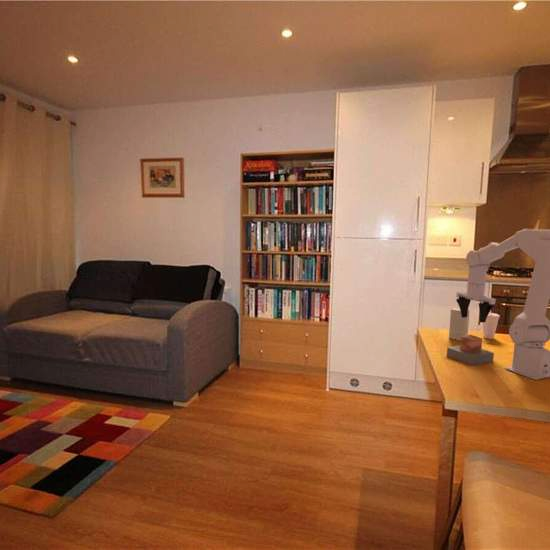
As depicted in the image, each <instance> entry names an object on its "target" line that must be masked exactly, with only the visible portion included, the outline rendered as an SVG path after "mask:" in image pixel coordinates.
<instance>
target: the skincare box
mask: <svg viewBox="0 0 550 550" xmlns="http://www.w3.org/2000/svg"><path fill="white" fill-rule="evenodd" d="M469 320H470V310H469V309H468V315H467V317H465V318H462V316H461V311H460V308H456V307H454V308H451V309H450V319H449V331H448V339H449V338H452V339H451V340H455V339H456V340H457V341H460V340H461V336H465V335H469V323H470V321H469ZM456 340H455V341H456Z"/></svg>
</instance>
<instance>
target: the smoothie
mask: <svg viewBox="0 0 550 550" xmlns="http://www.w3.org/2000/svg"><path fill="white" fill-rule="evenodd" d="M500 317H501V316H500V314H498V313H494V312H492V310H491V311H490V312H489V314H488V316H487V318H486V321H485V322H482V335H483V338H485V339H490V340H492V339H495V334H496V331H497V327H498V322H499V319H500Z"/></svg>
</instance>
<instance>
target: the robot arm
mask: <svg viewBox="0 0 550 550" xmlns="http://www.w3.org/2000/svg"><path fill="white" fill-rule="evenodd" d="M518 248H519V249H520V250H521V251H523V252H524V254H526V255H527V256H528V257H530V258H532V260H533V261H534V262H535V264H534V267H533V272H532V275H531V280H530V284H529V288H528V292H527V294H526V295H527V296H526V299H525V303H524V307H523V311H522V312H521V313H520V314H518V315H517V316H516V317H515V318H514V320H513V323H512V324H511V325H510V327H509V330H508V334H509V337H510V339H511V341H512V343H514V346H513V356H512V363H511V365H510V366H506V367H505V369H506V370H508V371H510V372H513V373H516V374H517V375H518V374H519V375H522V376H524V377H527V378H529V379H532V380H542V379H546V378H550V350H549V349H548V348H545V347H544V346H546V343H548V342H549V340H550V320H549V319H548V318H547V317H546V314H547V309H548V306H549V303H550V228H548V229H541V228H539V229H535V228H532V229H531V228H523V229H521V230H519V231H516V232H515V234H513V235H512V236H510V237H508V238H507V239H504V240H503V241H501V242H500V243H499V242H494V241H490V242H489V243H488V245H486V246H484V247H480V248H479V249H477V250H472V249H471V250H470V251H469V252H468V253H467V254H466V256H465V259H466V260H465V261H466V264H467V265H468V276H467V288H466V292H463V291H457V292H456V302H457V305H458V307H459V309H460V311H461V316H462V318H465V317H467V315H468V310H469V307H470V303H471V301H475V302H478V308H479V323H481V324H483V322H485V321H486V318H487V316H488V314H489V312H490V311H491V312H492V310H493V308H494V307H495V304H496V300H497V299H496V298H493V297H491V296H487V295H485V291H486V281H487V272H488V270H489V267H490V265H492V263H494V262H495V261H497V260H500V259H502V258H504V256H505V255H506V253H507V252H510V251H513V250H515V249H518Z"/></svg>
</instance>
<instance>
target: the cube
mask: <svg viewBox="0 0 550 550" xmlns="http://www.w3.org/2000/svg"><path fill="white" fill-rule="evenodd" d="M482 345H483V338H482V337H480V336H476V335H472V334H468V335H465V336H461V341H460V349H462V350H465V351H468V352H471V353H474V352H480V351H481V349H482Z"/></svg>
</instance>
